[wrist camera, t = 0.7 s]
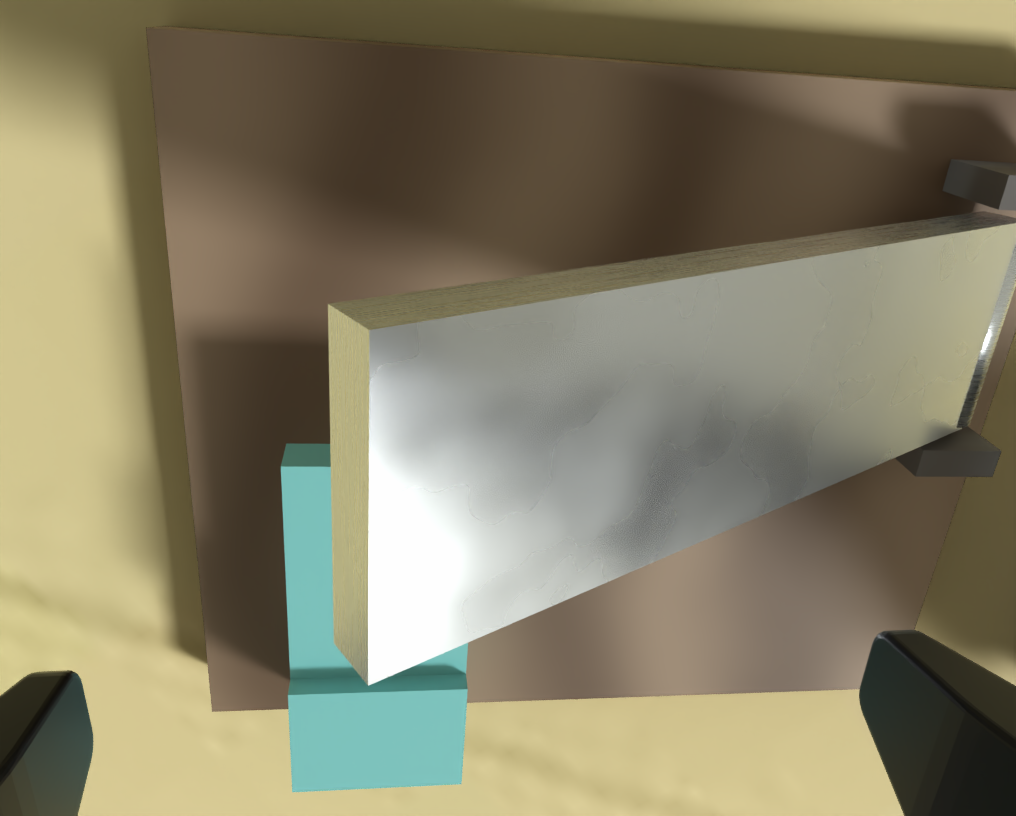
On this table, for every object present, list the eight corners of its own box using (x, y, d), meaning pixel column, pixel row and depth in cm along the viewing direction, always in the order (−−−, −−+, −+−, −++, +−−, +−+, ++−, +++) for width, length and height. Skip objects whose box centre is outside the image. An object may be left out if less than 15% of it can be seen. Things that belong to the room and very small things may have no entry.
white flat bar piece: (992, 208, 19) (1047, 219, 19) (931, 406, 22) (978, 425, 21) (323, 301, 10) (374, 333, 9) (330, 639, 12) (371, 690, 11)
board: (1048, 90, 20) (1168, 106, 17) (869, 654, 27) (931, 738, 24) (165, 26, 17) (114, 29, 14) (222, 672, 24) (197, 770, 21)
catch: (468, 409, 20) (482, 479, 17) (452, 686, 24) (461, 784, 21) (295, 407, 20) (277, 479, 17) (305, 691, 23) (292, 792, 20)
